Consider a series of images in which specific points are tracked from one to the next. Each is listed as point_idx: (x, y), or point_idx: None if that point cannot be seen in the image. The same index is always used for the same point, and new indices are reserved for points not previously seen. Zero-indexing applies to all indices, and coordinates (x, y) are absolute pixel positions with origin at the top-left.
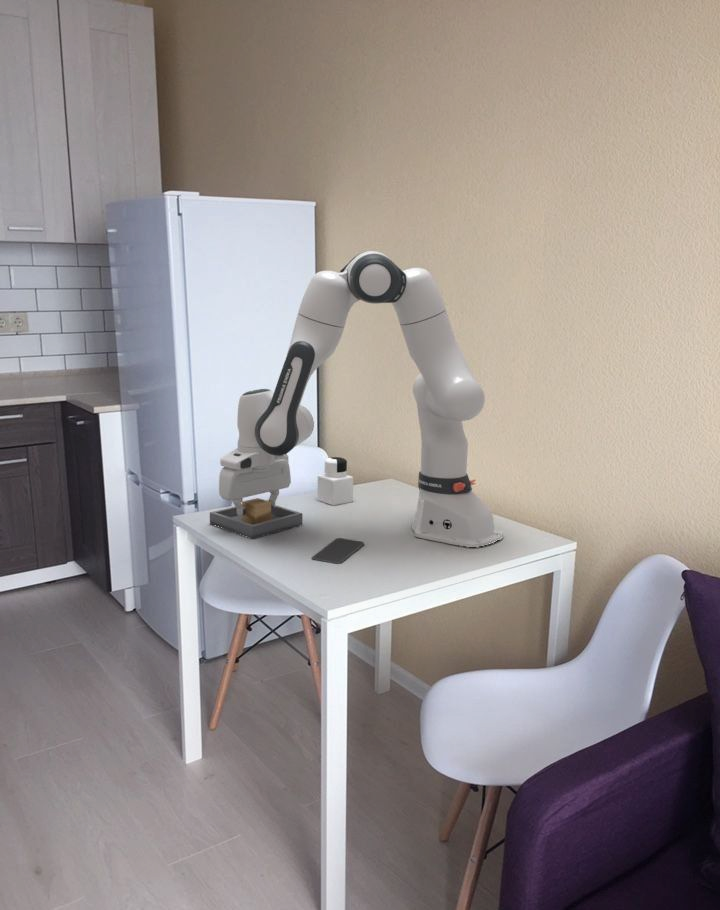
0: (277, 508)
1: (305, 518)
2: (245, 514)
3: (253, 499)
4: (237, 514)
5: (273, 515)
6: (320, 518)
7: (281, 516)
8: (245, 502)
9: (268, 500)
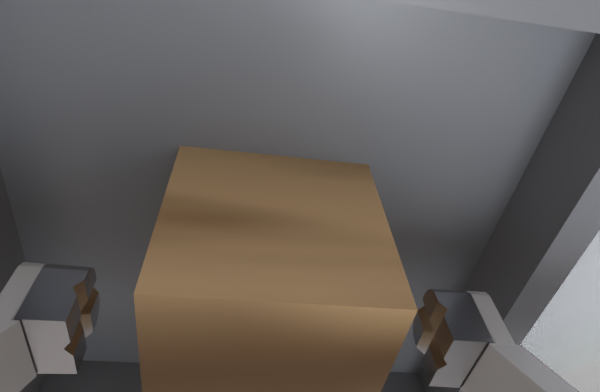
0: (514, 289)
1: (564, 321)
2: (97, 309)
3: (328, 317)
4: (26, 265)
5: (485, 218)
6: (592, 362)
7: (471, 280)
8: (146, 338)
9: (464, 352)
